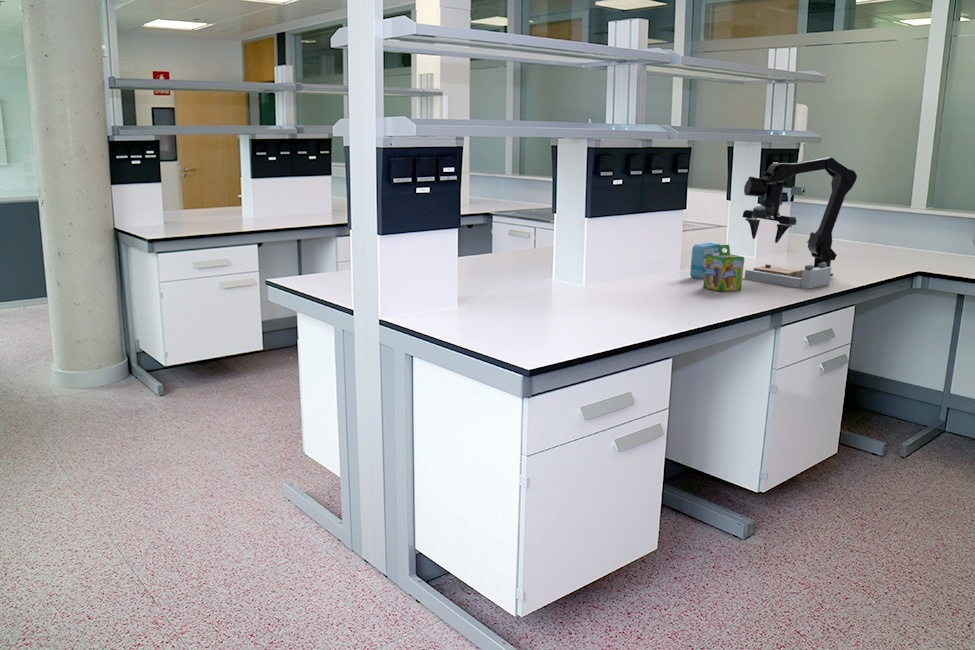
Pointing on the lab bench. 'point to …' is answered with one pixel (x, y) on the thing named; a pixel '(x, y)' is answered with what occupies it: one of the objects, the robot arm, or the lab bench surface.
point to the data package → (701, 258)
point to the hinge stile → (815, 276)
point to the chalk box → (723, 271)
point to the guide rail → (773, 278)
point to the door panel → (780, 270)
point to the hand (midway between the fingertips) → (764, 240)
